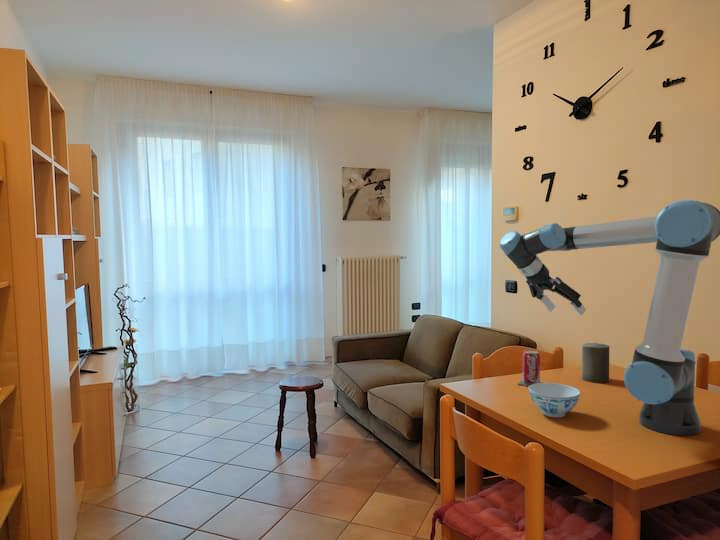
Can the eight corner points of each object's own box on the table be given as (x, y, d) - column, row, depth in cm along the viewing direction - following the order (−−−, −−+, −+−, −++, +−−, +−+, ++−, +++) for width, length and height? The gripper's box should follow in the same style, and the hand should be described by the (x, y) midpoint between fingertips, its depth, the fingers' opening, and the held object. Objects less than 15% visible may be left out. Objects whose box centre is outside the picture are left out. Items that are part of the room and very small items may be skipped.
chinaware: (590, 416, 149) (590, 392, 149) (558, 425, 142) (558, 400, 141) (550, 403, 162) (550, 380, 162) (518, 410, 155) (518, 387, 154)
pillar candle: (611, 383, 183) (612, 344, 183) (583, 381, 186) (583, 343, 186) (606, 377, 192) (607, 340, 192) (580, 375, 195) (580, 338, 195)
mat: (538, 388, 178) (538, 386, 178) (517, 384, 183) (517, 383, 183) (544, 384, 184) (544, 382, 184) (524, 380, 188) (524, 379, 188)
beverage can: (543, 384, 182) (543, 352, 181) (530, 386, 179) (530, 354, 179) (532, 379, 187) (532, 349, 187) (518, 381, 185) (519, 350, 185)
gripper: (502, 276, 174) (535, 315, 180) (555, 278, 151) (591, 322, 157) (514, 261, 176) (546, 300, 182) (568, 261, 153) (603, 305, 159)
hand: (567, 310), depth 170 cm, fingers open, 13 cm apart
